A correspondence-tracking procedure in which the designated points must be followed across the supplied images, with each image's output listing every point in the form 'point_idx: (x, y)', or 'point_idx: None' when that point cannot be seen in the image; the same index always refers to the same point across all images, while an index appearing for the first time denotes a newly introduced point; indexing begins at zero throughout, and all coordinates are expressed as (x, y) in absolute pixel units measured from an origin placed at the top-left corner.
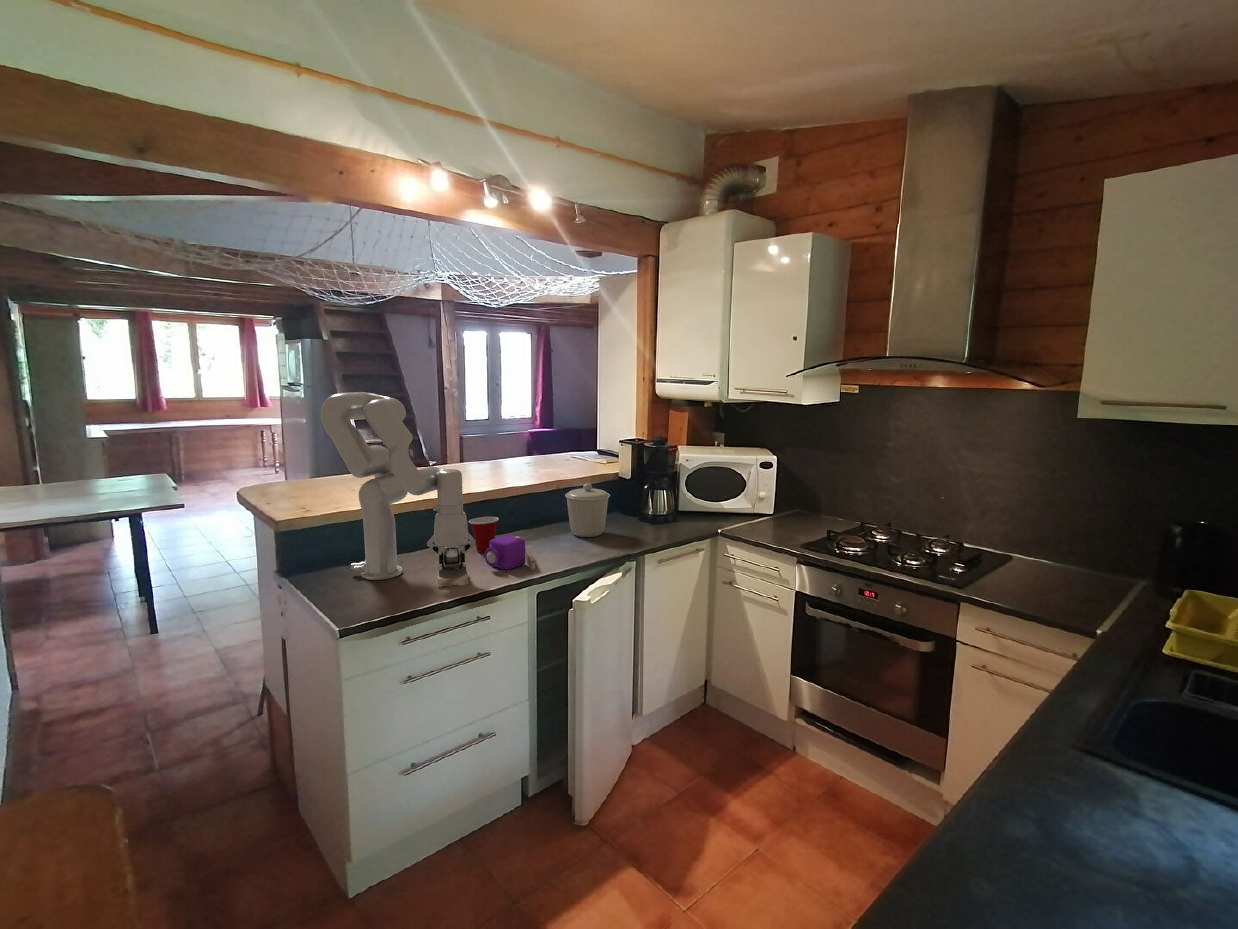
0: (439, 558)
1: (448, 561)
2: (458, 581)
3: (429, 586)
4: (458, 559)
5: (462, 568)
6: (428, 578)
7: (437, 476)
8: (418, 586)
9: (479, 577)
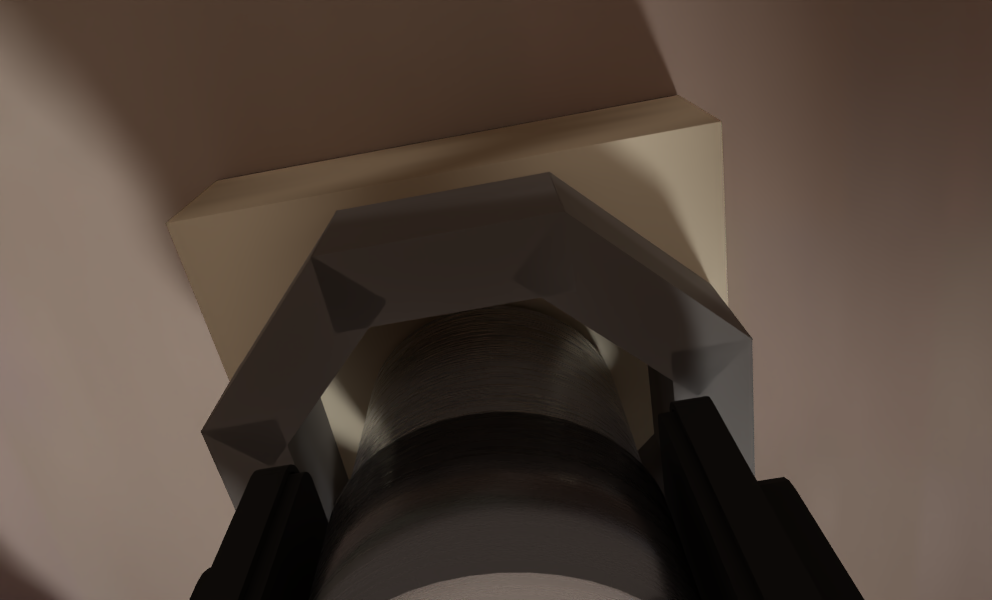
0: (836, 577)
1: (567, 474)
2: (350, 172)
3: (811, 150)
4: (316, 574)
5: (274, 415)
6: (821, 448)
7: None
8: (974, 161)
9: (147, 453)
